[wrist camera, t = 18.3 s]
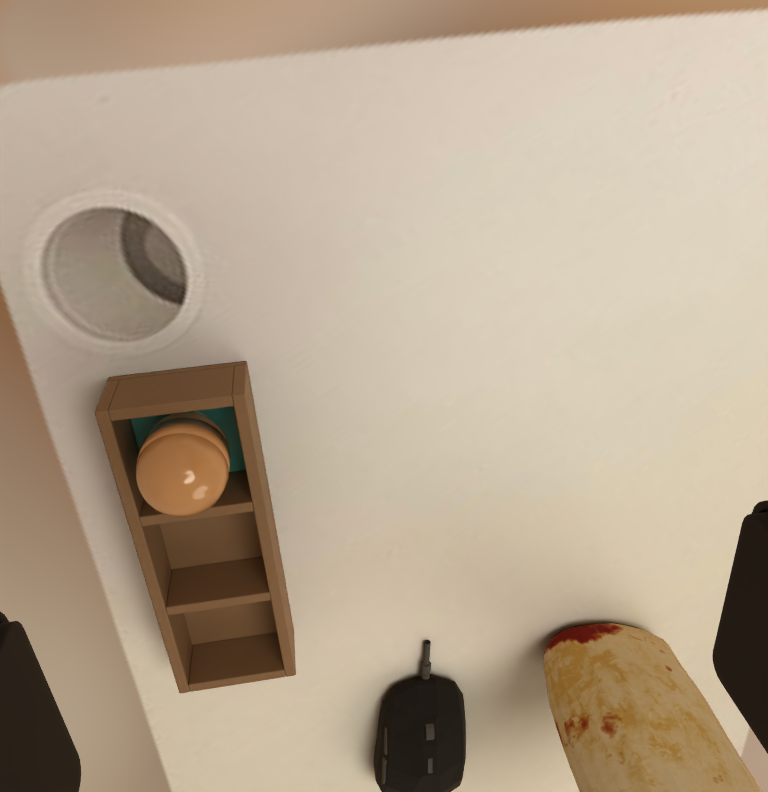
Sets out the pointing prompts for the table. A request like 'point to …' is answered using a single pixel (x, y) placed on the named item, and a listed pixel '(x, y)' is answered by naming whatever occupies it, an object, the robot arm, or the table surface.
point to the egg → (183, 464)
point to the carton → (205, 532)
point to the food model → (635, 716)
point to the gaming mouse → (421, 735)
